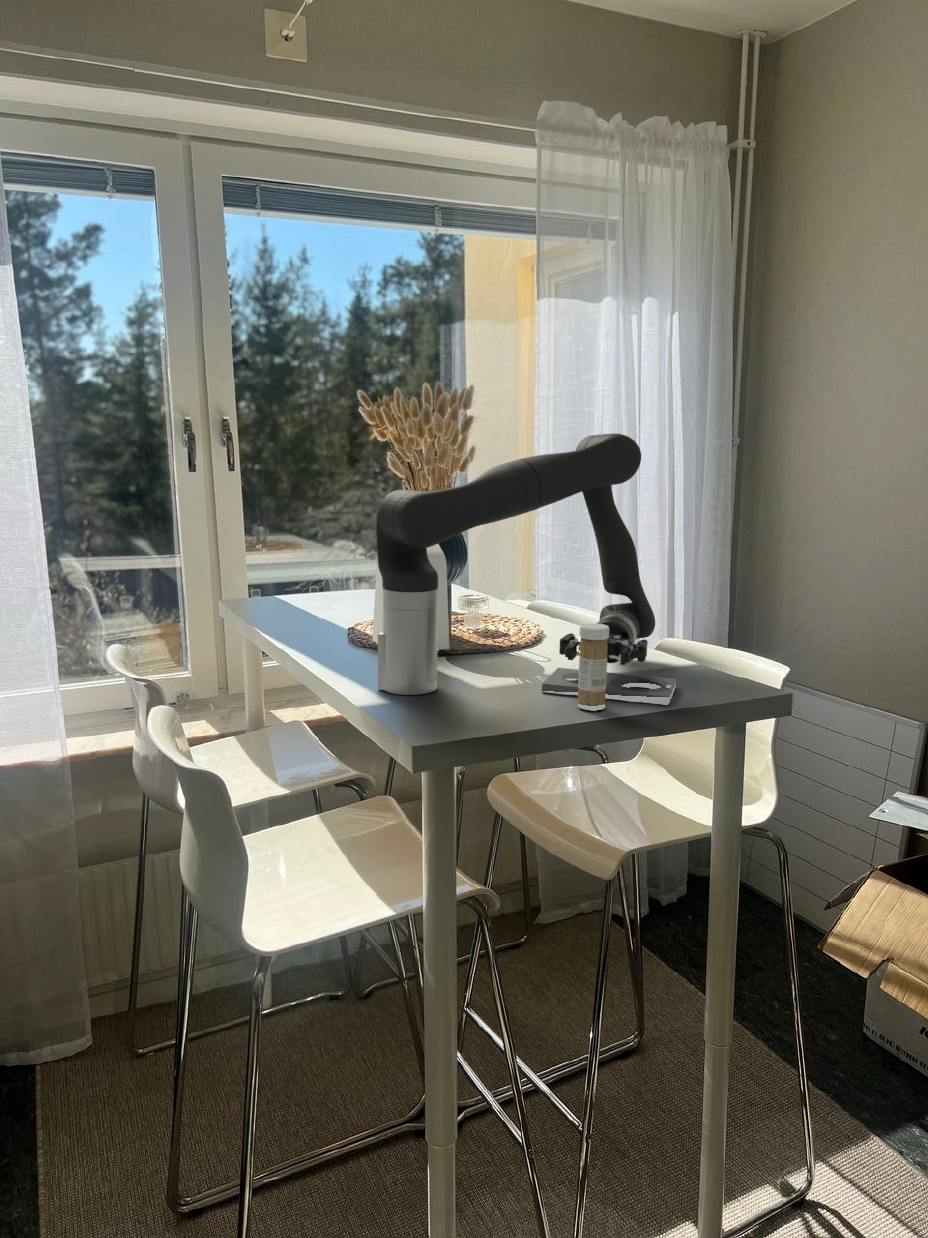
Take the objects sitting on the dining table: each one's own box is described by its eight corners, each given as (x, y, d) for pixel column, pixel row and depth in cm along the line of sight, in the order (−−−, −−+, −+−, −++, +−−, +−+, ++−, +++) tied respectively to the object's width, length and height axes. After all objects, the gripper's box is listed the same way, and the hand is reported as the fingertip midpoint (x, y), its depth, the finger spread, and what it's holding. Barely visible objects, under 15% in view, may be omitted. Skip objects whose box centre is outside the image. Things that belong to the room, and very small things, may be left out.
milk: (424, 639, 194) (425, 516, 189) (449, 650, 184) (451, 520, 179) (372, 644, 188) (372, 517, 183) (394, 655, 178) (395, 522, 173)
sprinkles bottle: (602, 704, 147) (606, 622, 144) (608, 712, 142) (612, 628, 140) (574, 704, 147) (577, 622, 144) (579, 712, 142) (582, 628, 140)
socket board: (541, 692, 153) (542, 682, 153) (557, 676, 164) (558, 667, 164) (668, 706, 146) (669, 695, 146) (676, 688, 158) (677, 678, 157)
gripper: (574, 613, 162) (553, 629, 147) (654, 619, 158) (642, 637, 143) (572, 654, 164) (551, 675, 149) (652, 661, 159) (639, 683, 144)
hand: (596, 656), depth 146 cm, fingers open, 8 cm apart
